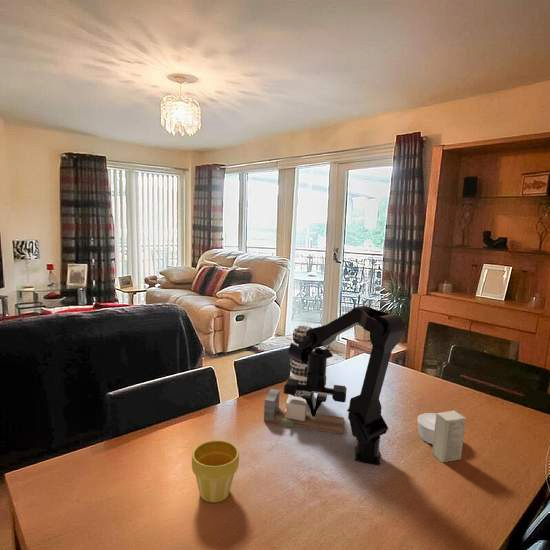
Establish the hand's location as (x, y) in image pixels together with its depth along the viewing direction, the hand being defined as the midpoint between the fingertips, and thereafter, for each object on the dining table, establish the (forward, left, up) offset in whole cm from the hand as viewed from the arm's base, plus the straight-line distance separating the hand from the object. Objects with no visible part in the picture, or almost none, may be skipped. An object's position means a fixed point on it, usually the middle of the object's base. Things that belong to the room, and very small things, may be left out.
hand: (313, 416), depth 118 cm
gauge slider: (-2, +6, -1) cm, 6 cm away
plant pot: (-37, +18, -2) cm, 41 cm away
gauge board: (0, +3, -2) cm, 3 cm away
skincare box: (-7, -37, -2) cm, 38 cm away
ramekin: (+2, -36, -2) cm, 36 cm away
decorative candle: (+17, +7, -2) cm, 18 cm away
